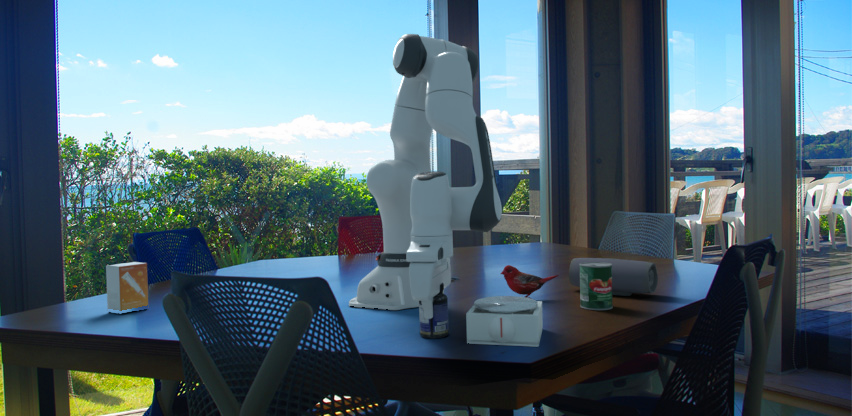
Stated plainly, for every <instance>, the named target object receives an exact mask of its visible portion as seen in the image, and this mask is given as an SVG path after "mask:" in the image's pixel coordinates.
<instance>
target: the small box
mask: <svg viewBox="0 0 852 416" xmlns="http://www.w3.org/2000/svg"><path fill="white" fill-rule="evenodd" d="M105 276H106V300H107V301H106V302H107V310H108V309H113V310H119V311H122V310H127V309H132V308H138V307H142V306H147V305H148V306H149V287H148V286H149V285H148V283H149V282H148V263H147V262H139V261H132V262H125V263H123V262H122V263H116V264H110V265H108V264H107V265H105Z"/></svg>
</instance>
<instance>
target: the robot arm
mask: <svg viewBox="0 0 852 416" xmlns="http://www.w3.org/2000/svg"><path fill="white" fill-rule="evenodd" d="M392 65H393V68H394V70H395V72H396V73H397V74H398V75H400V76H402V78H401V82H400V85H399V87H398V91H397V94H396V99H395V103H394V107H393V114H392V117H391V118H392V119H391V125H390V131H389V137H390V139H391V141H392V145H393V158H394V159H386V160H383V161H380V162H377V163H375V164H373V166H371V168H370V169H369V171H368V172H367V175H366V186H367V189H368V191H369V192H370V194H371V195H372V196H373V198H374V200H375V202H376V204H377V208H378V211H379V214H380V218H381V225H382V237H383V238H382V239H383V240H382V241H383V242H382V243H383V251H382V252H380V253H379V254H378V255H376V256H375V261H376V262H377V266H376V267H375V268H373V269H372V270H371V271H370V272H369V273H368V274H366V275H365V276H364V277H363V278H362V279H361V280H360V281H359V283H358V285H357V290H356V296H354V297H353V298H351V299H350V300H349V301H348V306H349V307H350V306H354V307H353V308H362V307H365V308H364V309H374V308H378V309H377V310H386V309H388V310H390V311H399V310H404V309H411V308H419V301H421V303H422V306H423V309H424V317H425V318H426V319H431V318H432V317H433V316H434V309H433V303H432V302H433V297H434V296H436V295H437V294H438V293H439V292H440V284H442V283H444V290H443V294H445V289H446V288H447V287H448V286H449V285H451V282H452V270H451V258H452V257H453V256H454V243H453V240H454V239H453V231H472V232H482V233H488V232H490V231H492V230H493V229H494V228H496V227H497V225H498V224H499V223H500V222H501V219H502V214H503V207H502V202H501V199H500V194H499V191H498V185H497V179H496V171H495V166H494V159H493V154H492V152H493V151H492V147H491V140H490V136H489V131H488V128H487V125H486V122H485V121H484V118H482V117H481V116H479V115H477V113H476V110H475V109H474V104H473V100H474V99H473V98H474V96H473V95H474V94H473V93H474V88H473V85H474V84H473V83H474V81H475V79H476V77H477V75H478V72H479V58H478V54H477V53H476V52H475V50H472V49H471V48H470V47H467V46H464V45H462V46H461V45H460V44H457V43H454V42H452V41H449V40H445V39H442V38H441V39H439V38H434V37H428V36H422V35H421V36H420V35H419V34H417V33H405V34H403V35H401V37H399V39H398V40H397V42H396V43H395V47H394V48H393V53H392ZM433 130H434V131H435V132H436V133H437V134H439V135H441V136H442V137H444V138H447V139H451V140H454V141H457V142H460V143H463V144H464V145H466V146H468V147H469V148H470V150H471V153H472V154H471V155H472V163H473V168H474V169H473V170H474V176H475V184H474V185H472V186H460V187H459V186H458V187H454V186H453V187H451V186H450V180H449V175H448V174H447V173H446V172H444V171H438V170H437V171H436V170H435V171H432V168H431V166H432V165H431V141H432V140H431V139H432V134H433ZM388 310H387V311H388Z"/></svg>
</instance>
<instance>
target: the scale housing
mask: <svg viewBox="0 0 852 416" xmlns="http://www.w3.org/2000/svg"><path fill="white" fill-rule="evenodd" d="M536 301H537V303H538V307H537V308H536V309H534V310H530V311H526V312H517V313H513V314H500V313H496V312H487V311H482V310H479V309H476V308H475V307H474V304H473V305H472V306H471V307H470V308H469V310H468V311H467V312H466V313H465V314H466V315H465V316H466V319H465V320H466V344H468V343H469V345H470V344H471V345H472V344H473V345H474V344H475V345H491V346H493V345H494V346H496V345H498V346H510V347H511V346H514V347H515V346H516V347H517V346H518V347H535V348H536V347H538V348H539V346H540V341H541V337H542V332H543V329H544V327H543V324H544V323H543V301H542V300H541V301H540V300H536Z"/></svg>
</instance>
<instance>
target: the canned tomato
mask: <svg viewBox="0 0 852 416" xmlns="http://www.w3.org/2000/svg"><path fill="white" fill-rule="evenodd" d="M579 265H580V287H579V294H580V295H579V297H580V302H579V303H580V305H579V307H580V308H582V309H584V310H588V311H589V310H590V311H608V310H612V309H613V308H614V307H613V295H612V264H610V263H604V262H585V263H580V264H579Z"/></svg>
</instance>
